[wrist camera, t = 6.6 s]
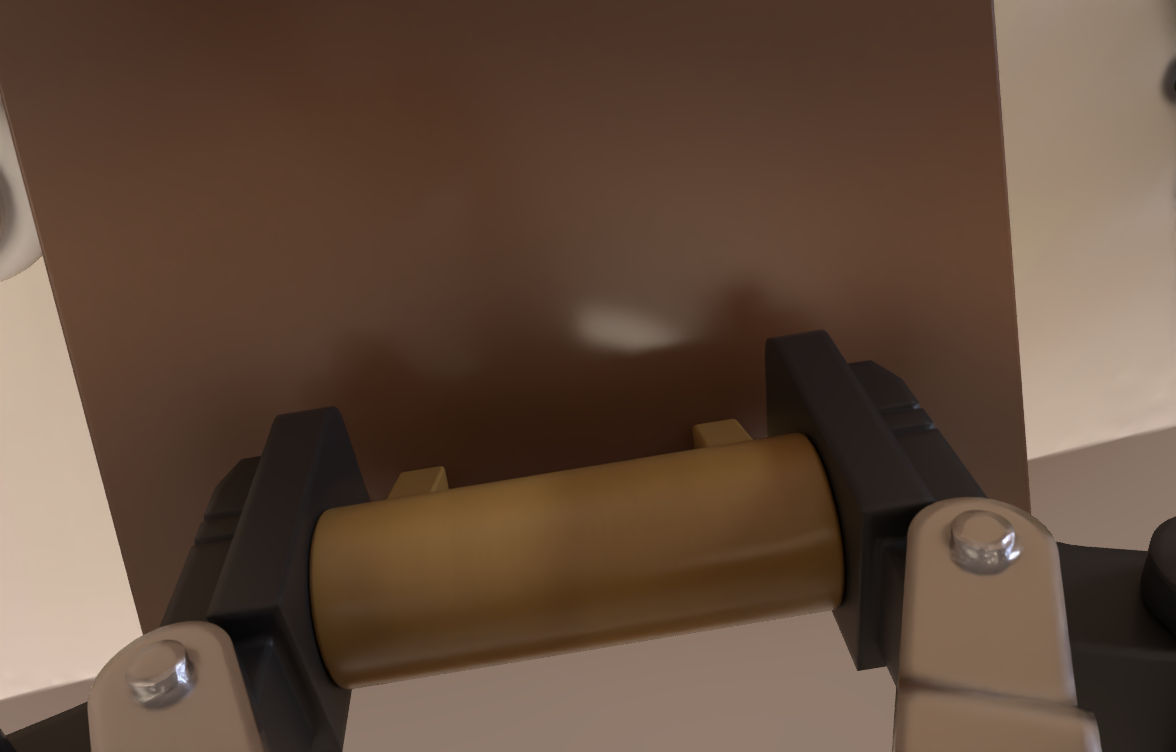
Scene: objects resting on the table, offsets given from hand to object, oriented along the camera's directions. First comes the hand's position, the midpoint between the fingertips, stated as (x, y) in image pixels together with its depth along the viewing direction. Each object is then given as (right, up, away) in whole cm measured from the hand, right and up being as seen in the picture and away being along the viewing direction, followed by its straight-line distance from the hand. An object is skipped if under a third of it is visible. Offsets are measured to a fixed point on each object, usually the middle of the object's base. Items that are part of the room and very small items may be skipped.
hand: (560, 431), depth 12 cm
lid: (-1, +6, +2) cm, 6 cm away
